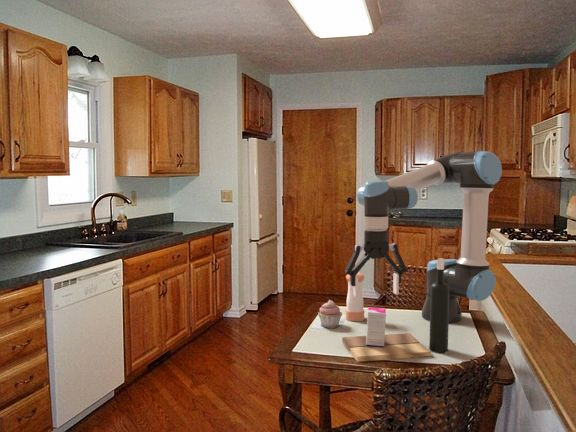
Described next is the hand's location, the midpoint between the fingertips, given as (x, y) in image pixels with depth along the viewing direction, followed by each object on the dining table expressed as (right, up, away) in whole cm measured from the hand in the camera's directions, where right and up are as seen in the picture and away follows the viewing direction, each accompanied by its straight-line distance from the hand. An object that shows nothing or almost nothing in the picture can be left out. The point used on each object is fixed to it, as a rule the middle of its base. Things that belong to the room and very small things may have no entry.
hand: (375, 294), depth 167 cm
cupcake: (-13, -16, +27) cm, 34 cm away
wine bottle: (+20, -18, +1) cm, 27 cm away
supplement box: (0, -16, +1) cm, 16 cm away
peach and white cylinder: (-2, -15, +36) cm, 39 cm away
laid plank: (+4, -18, -3) cm, 19 cm away
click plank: (+2, -17, +5) cm, 18 cm away
